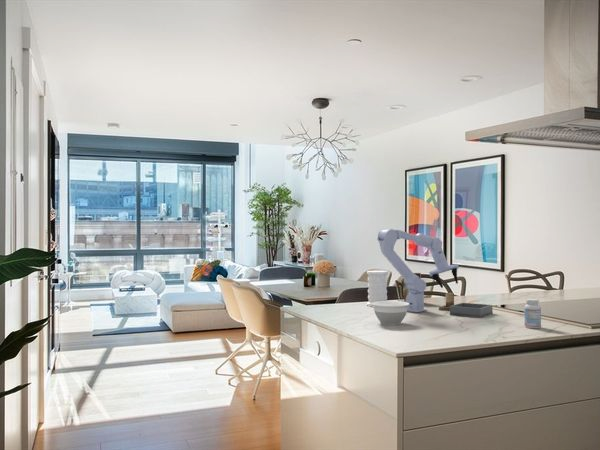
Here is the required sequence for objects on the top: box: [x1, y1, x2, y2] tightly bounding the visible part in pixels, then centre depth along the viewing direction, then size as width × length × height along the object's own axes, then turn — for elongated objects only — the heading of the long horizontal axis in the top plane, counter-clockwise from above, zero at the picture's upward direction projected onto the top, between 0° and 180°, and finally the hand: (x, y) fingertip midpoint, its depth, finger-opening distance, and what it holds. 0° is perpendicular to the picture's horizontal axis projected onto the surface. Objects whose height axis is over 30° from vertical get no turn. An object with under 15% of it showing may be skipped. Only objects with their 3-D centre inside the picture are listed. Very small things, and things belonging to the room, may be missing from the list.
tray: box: [449, 302, 494, 319], centre depth 256 cm, size 15×15×4 cm
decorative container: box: [366, 270, 389, 307], centre depth 289 cm, size 12×12×18 cm
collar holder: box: [438, 304, 450, 312], centre depth 271 cm, size 8×8×2 cm
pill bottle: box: [523, 298, 542, 330], centre depth 220 cm, size 6×6×11 cm
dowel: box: [445, 292, 455, 307], centre depth 271 cm, size 4×4×8 cm
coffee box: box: [403, 272, 422, 302], centre depth 298 cm, size 9×6×16 cm
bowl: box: [372, 300, 410, 326], centre depth 234 cm, size 16×16×9 cm
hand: (449, 285), depth 275 cm, fingers open, 7 cm apart
